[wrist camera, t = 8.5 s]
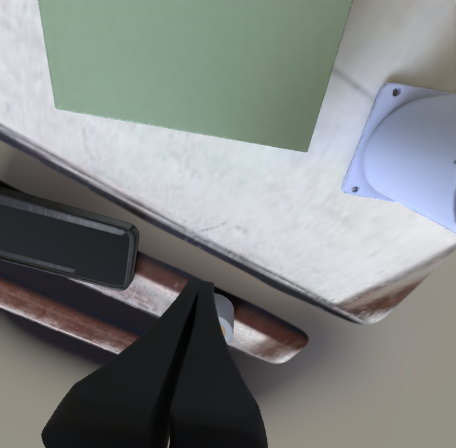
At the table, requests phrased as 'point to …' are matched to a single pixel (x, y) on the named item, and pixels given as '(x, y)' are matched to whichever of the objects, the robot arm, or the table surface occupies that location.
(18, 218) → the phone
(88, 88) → the cabinet
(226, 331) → the cylinder
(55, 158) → the table surface
